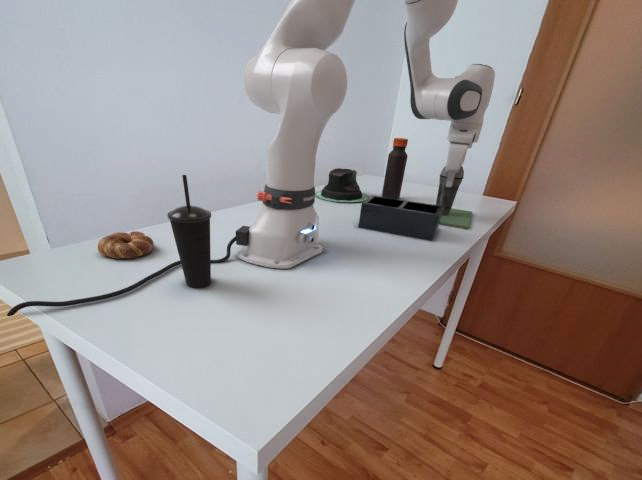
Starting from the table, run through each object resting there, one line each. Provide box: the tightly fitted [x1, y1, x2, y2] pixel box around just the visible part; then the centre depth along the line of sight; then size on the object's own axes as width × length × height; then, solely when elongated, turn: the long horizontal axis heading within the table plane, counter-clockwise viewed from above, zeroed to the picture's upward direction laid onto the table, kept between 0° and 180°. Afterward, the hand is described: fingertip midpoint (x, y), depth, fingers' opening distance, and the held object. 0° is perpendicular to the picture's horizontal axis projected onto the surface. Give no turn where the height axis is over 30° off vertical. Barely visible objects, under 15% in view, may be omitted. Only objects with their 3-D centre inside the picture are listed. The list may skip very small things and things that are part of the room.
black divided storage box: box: [357, 195, 444, 242], centre depth 107 cm, size 11×22×7 cm, turn 65°
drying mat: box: [439, 207, 473, 230], centre depth 122 cm, size 20×18×1 cm
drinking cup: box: [166, 174, 212, 289], centre depth 67 cm, size 8×8×20 cm
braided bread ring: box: [97, 230, 155, 260], centre depth 83 cm, size 12×11×4 cm
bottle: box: [381, 137, 409, 199], centre depth 133 cm, size 7×7×20 cm
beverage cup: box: [435, 165, 465, 216], centre depth 116 cm, size 7×7×20 cm
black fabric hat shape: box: [315, 167, 369, 203], centre depth 136 cm, size 15×19×20 cm
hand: (450, 184), depth 116 cm, fingers open, 8 cm apart
